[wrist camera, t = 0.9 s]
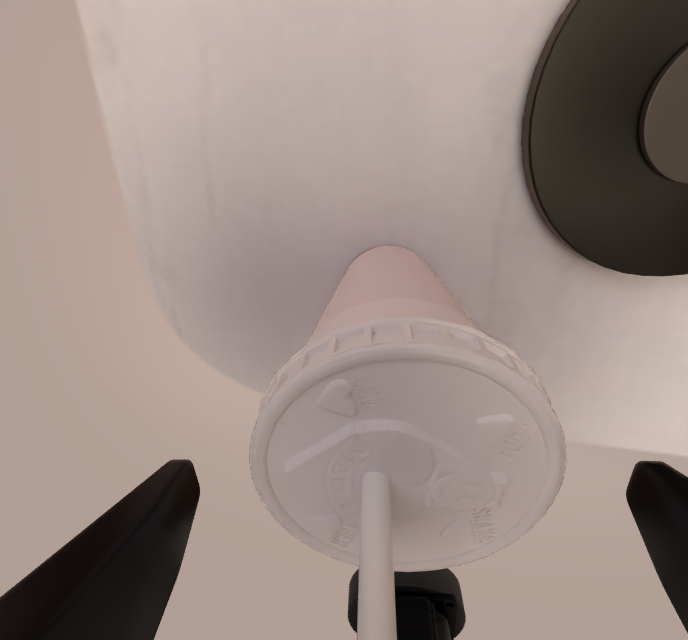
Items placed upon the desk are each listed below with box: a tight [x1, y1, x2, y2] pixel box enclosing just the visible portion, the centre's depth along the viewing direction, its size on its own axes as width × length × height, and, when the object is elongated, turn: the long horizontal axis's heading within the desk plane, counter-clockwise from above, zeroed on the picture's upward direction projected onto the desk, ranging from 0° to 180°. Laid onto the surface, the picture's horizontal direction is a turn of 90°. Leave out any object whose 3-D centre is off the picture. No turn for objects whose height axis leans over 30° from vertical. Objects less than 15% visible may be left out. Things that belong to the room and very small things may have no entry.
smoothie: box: [249, 246, 567, 640], centre depth 11 cm, size 6×6×14 cm
